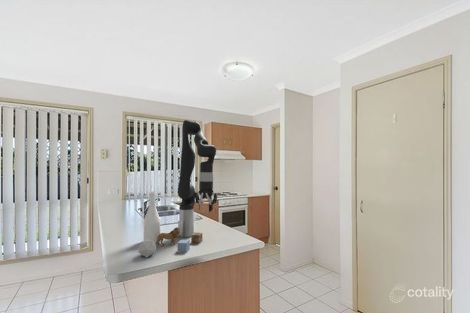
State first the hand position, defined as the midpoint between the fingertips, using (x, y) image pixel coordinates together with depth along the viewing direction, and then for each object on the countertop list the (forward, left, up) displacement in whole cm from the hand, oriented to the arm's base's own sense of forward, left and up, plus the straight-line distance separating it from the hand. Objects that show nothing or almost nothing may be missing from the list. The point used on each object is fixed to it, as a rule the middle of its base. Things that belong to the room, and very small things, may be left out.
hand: (205, 210), depth 132 cm
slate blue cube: (-10, -7, -21) cm, 24 cm away
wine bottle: (-36, 0, -21) cm, 41 cm away
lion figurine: (-24, 0, -21) cm, 32 cm away
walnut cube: (-10, +8, -21) cm, 24 cm away
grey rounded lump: (-24, -19, -21) cm, 37 cm away
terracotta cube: (0, 0, 0) cm, 0 cm away
